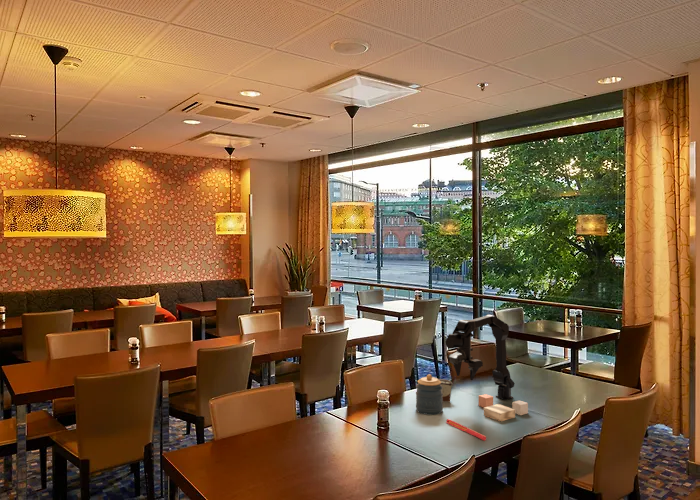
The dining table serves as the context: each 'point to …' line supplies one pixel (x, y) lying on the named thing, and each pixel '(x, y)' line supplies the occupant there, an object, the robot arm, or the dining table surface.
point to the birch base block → (499, 412)
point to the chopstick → (466, 429)
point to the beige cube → (520, 407)
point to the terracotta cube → (485, 400)
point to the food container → (446, 389)
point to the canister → (429, 396)
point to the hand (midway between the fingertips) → (464, 377)
